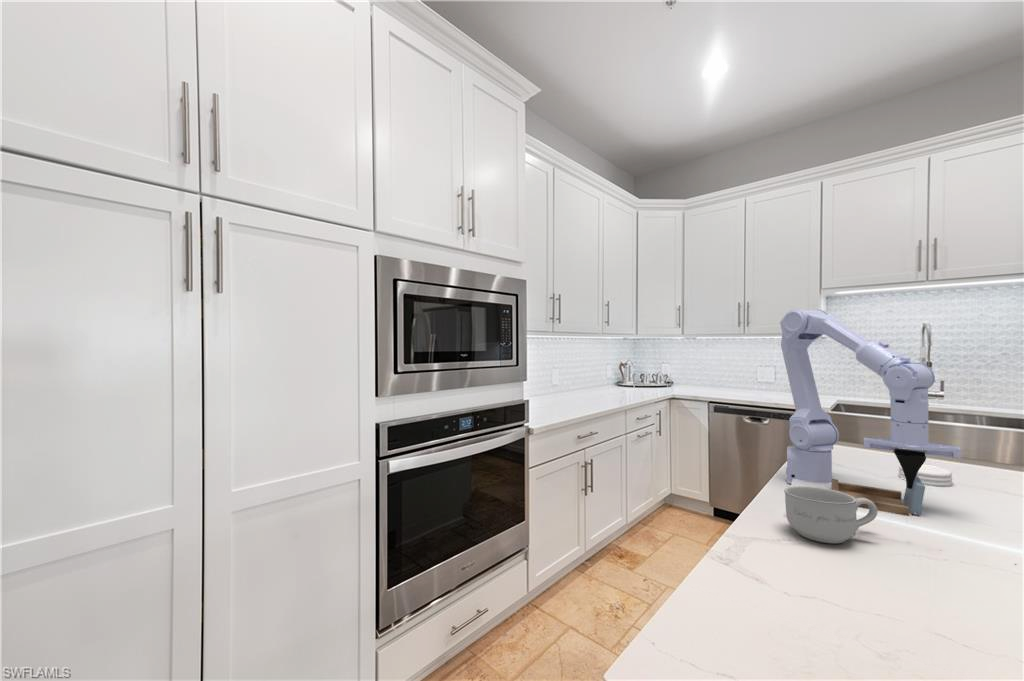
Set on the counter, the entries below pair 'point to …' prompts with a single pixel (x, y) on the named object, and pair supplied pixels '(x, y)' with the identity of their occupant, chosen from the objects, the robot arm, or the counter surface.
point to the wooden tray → (874, 497)
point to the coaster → (932, 475)
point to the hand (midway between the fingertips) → (910, 487)
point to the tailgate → (915, 497)
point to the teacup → (825, 513)
